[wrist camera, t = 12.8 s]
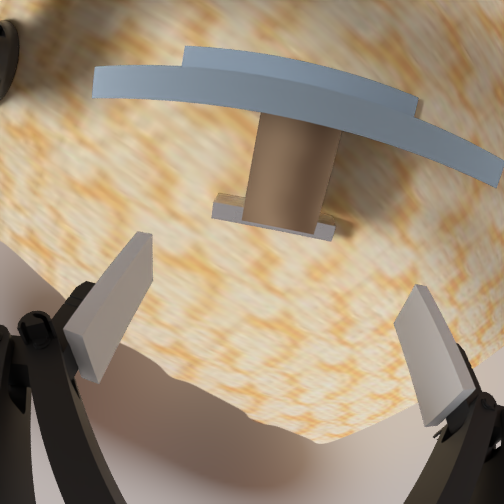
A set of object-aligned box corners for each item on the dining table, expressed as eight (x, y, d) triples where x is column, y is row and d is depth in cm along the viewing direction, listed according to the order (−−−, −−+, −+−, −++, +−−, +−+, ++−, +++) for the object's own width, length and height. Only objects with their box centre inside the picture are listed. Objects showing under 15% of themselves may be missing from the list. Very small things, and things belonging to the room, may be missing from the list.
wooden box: (250, 192, 36) (239, 230, 27) (267, 101, 30) (262, 106, 22) (303, 203, 36) (310, 244, 27) (325, 114, 30) (343, 125, 22)
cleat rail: (216, 208, 37) (211, 218, 35) (218, 192, 36) (213, 202, 34) (327, 230, 37) (331, 241, 35) (332, 215, 36) (336, 226, 34)
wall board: (181, 87, 30) (91, 98, 15) (187, 46, 27) (101, 20, 12) (405, 136, 30) (496, 188, 15) (415, 97, 28) (516, 121, 12)
